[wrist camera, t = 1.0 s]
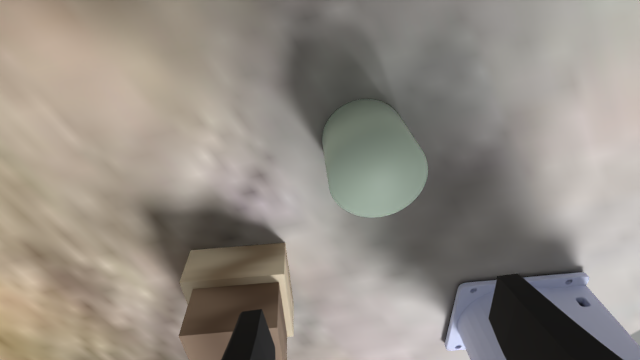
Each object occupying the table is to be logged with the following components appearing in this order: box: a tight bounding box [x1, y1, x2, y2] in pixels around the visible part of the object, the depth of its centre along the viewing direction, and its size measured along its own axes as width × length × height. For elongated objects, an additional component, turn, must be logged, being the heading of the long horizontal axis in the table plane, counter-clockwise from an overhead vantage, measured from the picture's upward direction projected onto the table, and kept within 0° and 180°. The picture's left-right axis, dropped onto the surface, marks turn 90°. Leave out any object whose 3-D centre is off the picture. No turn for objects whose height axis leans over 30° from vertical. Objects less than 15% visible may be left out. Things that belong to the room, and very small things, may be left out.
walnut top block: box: [179, 282, 287, 360], centre depth 20 cm, size 5×5×3 cm
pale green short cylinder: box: [322, 99, 428, 218], centre depth 17 cm, size 4×4×4 cm
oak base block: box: [179, 243, 293, 337], centre depth 23 cm, size 6×6×3 cm
